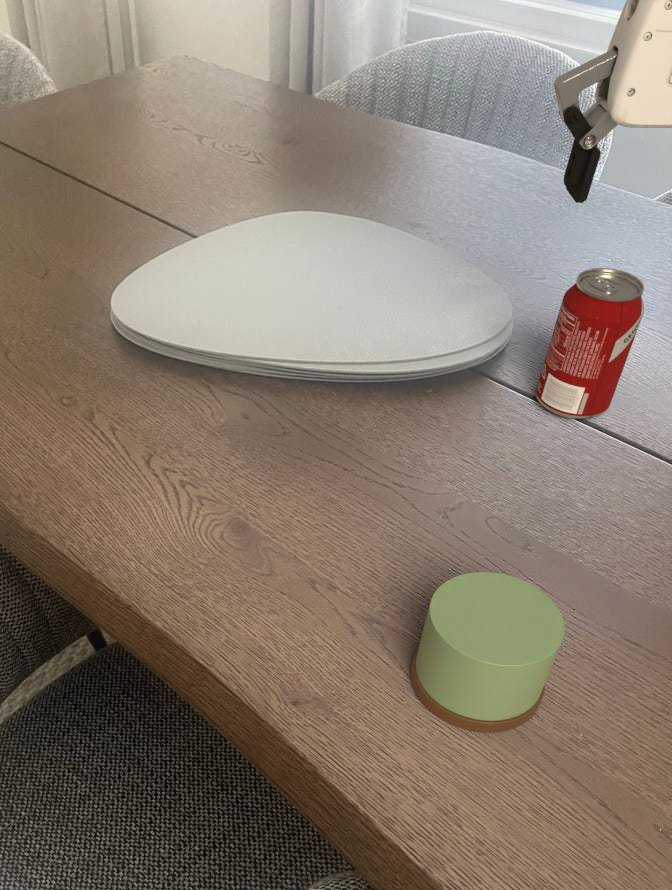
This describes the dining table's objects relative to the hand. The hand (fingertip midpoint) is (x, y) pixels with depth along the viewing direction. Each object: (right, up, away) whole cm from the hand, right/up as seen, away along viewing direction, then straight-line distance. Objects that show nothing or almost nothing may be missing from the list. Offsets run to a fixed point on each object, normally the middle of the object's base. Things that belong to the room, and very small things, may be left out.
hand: (634, 195), depth 77 cm
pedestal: (-16, -38, -10) cm, 43 cm away
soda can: (0, -13, +14) cm, 19 cm away
